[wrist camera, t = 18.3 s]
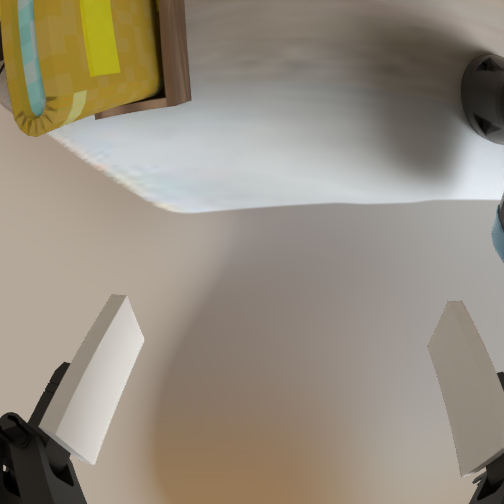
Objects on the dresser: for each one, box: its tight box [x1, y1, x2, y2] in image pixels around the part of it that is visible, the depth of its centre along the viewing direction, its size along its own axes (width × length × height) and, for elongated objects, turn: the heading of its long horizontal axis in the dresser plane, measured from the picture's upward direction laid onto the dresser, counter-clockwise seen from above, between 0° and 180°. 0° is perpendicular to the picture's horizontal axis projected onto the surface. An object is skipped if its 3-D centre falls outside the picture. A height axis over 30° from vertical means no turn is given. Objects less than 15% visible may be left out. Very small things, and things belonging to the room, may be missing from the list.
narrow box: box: [95, 0, 191, 120], centre depth 32 cm, size 12×22×7 cm, turn 3°
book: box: [0, 0, 165, 137], centre depth 25 cm, size 17×7×25 cm, turn 8°
